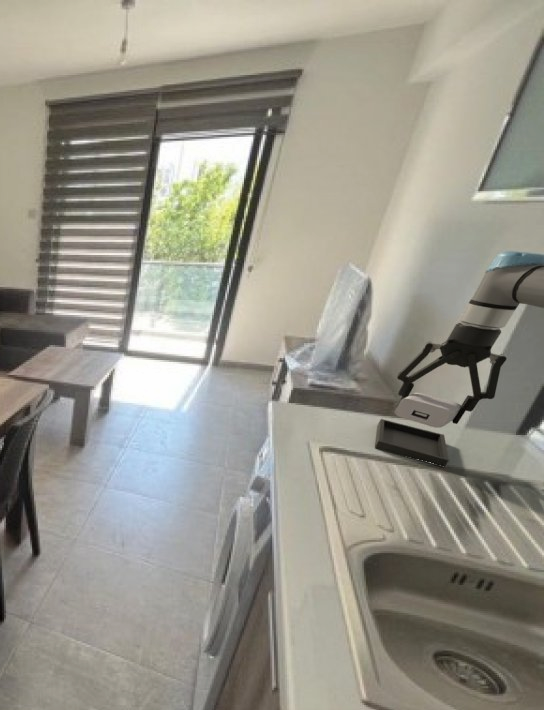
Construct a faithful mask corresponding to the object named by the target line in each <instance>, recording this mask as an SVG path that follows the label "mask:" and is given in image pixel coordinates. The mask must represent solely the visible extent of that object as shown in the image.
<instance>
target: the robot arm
mask: <svg viewBox="0 0 544 710" xmlns="http://www.w3.org/2000/svg"><path fill="white" fill-rule="evenodd" d="M520 304H522V305H527V306H528V305H529V306H533V307H537V308H541V309H544V253H536V252H528V251H527V252H526V251H517V250H516V251H515V250H505V251H501V252H499V253H498V254H497V255H496V256H495V258H494V259H493V261H492V262H491V264H490V266H489V267H488V268H487V269H486V270H485V272H484V275H483V276H482V279H481V280H480V282H479V284H478V286H477V288H476V290H475V292H474V293H473V296H472V297H471V298H470V300H469V301H468V304H467V305H466V307H465V309H464V310H463V312H462V314H461V315H460V317H459V318H458V320H459V321H460V322H458V323H456V324H455V325H454V327H453V328H452V330H451V332H450V334H449V335H448V337H447V339H446V340H445V341H443V342H442V343H437V342H432V341H426V342H425V344H424V345H423V348H422V350H421V351H420V352H419V353H418V354H417V355H416V356H415V357H414V358H412V359H411V361H410V362H409V363H408V364H407V365H406V366H405V367H404V368H402V369H401V371H399V372H398V373H397V374H396V378H397V380H400V381H402V382H403V383H402V385H401V386H400V388H399V390H398V393H397V394H398V396H399V397H400V396H401V397H400V399H399V400H398V402H397V405H396V407H395V409H396V408H397V406H398V405H399V403H400V401H401V400H402V399H404V398H406V397H408V396H410V395H411V394H410V393H411V392H412V390H413V389H414V386H415V384H414V383H415V382H416V381H418V380H419V379H421V378H423V377H424V376H426V375H427V374H429V373H430V372H432V371H434V370H435V369H437V368H439V367H441V366H443V365H445V364H447V365H450V366H458V367H460V368H468V371H469V372H468V373H469V378H470V384H471V390H472V395H469V394H468V395H466V397H465V398H464V400H463V402H462V403H461V404H460V405H461V406H462V408H461V409H460V411H459V412H458V414H457V416H456V417H455V419H454V420H452V421H451V423H452V424H455V425H458V424H459V422H460V420H461V419H462V418H463V416H464V415H465V413H466V412H470V413H471V412H473V411H474V409H475V408H476V406H477V405H478V404H479V402H480V401H481V400H493V399H495V397H496V391H497V387H498V382H499V378H500V374H501V368H502V366H503V365H504V363H505V362H507V359H508V358H507V356H506V355H505V354H502V353H501V354H497V353H494V352H493V353H492V348H493V347H494V345H495V343H496V342H497V340H498V339H499V337H500V336H501V334H502V330H501V329H503V328H506V326H507V324H508V323H509V321H510V319H511V318H512V316H513V314H514V313H515V311H516V309H517V308H518V307H519V306H520ZM436 350H439V351H440V354H441V355H440V356H439V357H437V358H436V359H434V360H433V361H432V362H430V363H428V364H426V365H425V366H423V367H421V368H420V369H419V370H417V371H415V372H413V373H412V374H411V375H409V374H410V373H411V372H412V371H413V370H414V369H415V368H416V367H418V365H419V364H421V363H422V362H423V360H424V359H426V357H428V356H429V354H430V353H432V354H433V353H434V352H435V351H436ZM486 359H489V363H490V364H491V366H490V369H489V375H488V379H487V384H486V389H485V391H482V388H481V382H480V377H479V370H478V363H480V362H482V361H484V360H486ZM408 375H409V376H408Z"/></svg>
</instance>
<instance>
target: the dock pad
mask: <svg viewBox="0 0 544 710" xmlns="http://www.w3.org/2000/svg"><path fill="white" fill-rule="evenodd" d="M375 433H376V435H375V443H374V449H377V450H380V451H384V452H387V453H390V454H394V455H398V456H401V455H402V456H401V457H405V456H407V457H406V458H408V457H411V458H410V459H412V458H414V459H413V460H415V459H419V460H423V461H427V462H431V463H434V464H437V465H441V466H444V467H443V468H445V467H446V466H447V464H448V462H449V461H450V459H449V454H448V449H447V448H448V447H447V442H446V437H445V434H442V433H439V432H436V431H431V430H427V429H423V428H419V427H415V426H411V425H407V424H403V423H400V422H395V421H392V420H387V419H384V418H380V419H379V422H377V426H376V432H375ZM419 460H418V461H419ZM437 465H436V466H437Z"/></svg>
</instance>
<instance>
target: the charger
mask: <svg viewBox="0 0 544 710" xmlns="http://www.w3.org/2000/svg"><path fill="white" fill-rule="evenodd" d="M399 401H400V400H399ZM398 403H399V402H398ZM461 405H462V404H460V403H459V402H457V401H453V400H449V399H445V398H441V397H437V396H435V395H430V394H427V393H423V392H413V393H412V394H409V396H408V397H406V398H404V399H402V400H401V401H400V403H399V405H398V406H397V405H396V406H397V408H396V407H395V410H394V414H395V415H396V416H397V417H399V418H401V419H405V420H409V421H412V422H415V423H419V424H421V425H425V426H427V427H432V428H437V429H441V428H444V427H445V426H446V425H448V424H449V423H452V420H454V419H455V417H456V416H457V414H458V412H459V411H460V409H461V408H462V406H461Z"/></svg>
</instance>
